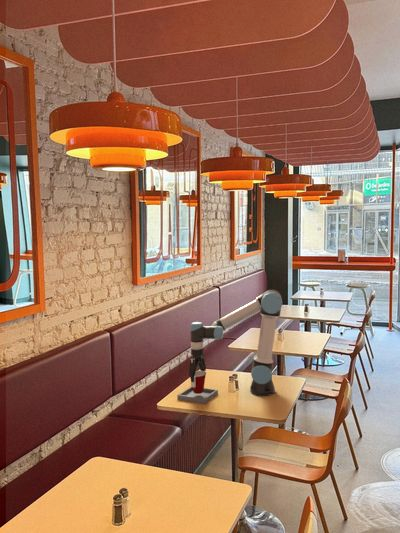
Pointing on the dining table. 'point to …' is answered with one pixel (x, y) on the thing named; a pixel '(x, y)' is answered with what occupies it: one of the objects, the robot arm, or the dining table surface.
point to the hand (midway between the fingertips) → (197, 384)
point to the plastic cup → (199, 382)
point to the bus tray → (197, 395)
